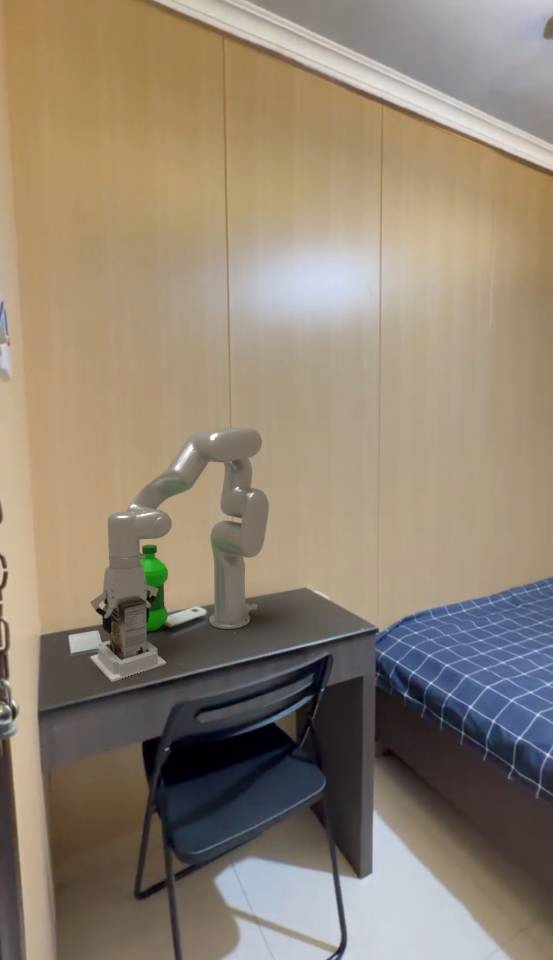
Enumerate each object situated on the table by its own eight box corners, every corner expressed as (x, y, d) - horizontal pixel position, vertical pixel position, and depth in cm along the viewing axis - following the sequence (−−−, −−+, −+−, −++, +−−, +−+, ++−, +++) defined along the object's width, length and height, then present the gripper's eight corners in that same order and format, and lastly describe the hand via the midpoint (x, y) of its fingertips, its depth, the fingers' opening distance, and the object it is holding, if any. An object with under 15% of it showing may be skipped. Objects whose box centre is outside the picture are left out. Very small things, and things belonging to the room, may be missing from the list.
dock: (141, 643, 135) (140, 631, 135) (166, 664, 124) (165, 650, 123) (90, 658, 126) (89, 645, 126) (111, 682, 115) (111, 667, 114)
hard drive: (103, 647, 131) (98, 629, 142) (70, 653, 127) (68, 634, 138) (103, 653, 131) (98, 635, 142) (71, 659, 127) (68, 640, 138)
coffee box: (109, 656, 126) (107, 596, 125) (132, 649, 131) (130, 591, 129) (124, 669, 120) (122, 606, 118) (148, 661, 124) (146, 600, 122)
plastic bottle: (128, 626, 147) (125, 545, 144) (160, 617, 153) (158, 540, 151) (141, 637, 139) (139, 552, 136) (175, 628, 146) (173, 546, 143)
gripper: (150, 552, 130) (151, 613, 132) (84, 564, 119) (87, 630, 121) (163, 558, 125) (164, 622, 127) (95, 571, 114) (98, 640, 116)
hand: (126, 626), depth 124 cm, fingers open, 9 cm apart
